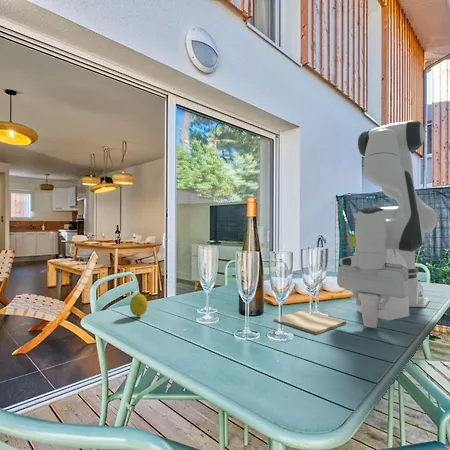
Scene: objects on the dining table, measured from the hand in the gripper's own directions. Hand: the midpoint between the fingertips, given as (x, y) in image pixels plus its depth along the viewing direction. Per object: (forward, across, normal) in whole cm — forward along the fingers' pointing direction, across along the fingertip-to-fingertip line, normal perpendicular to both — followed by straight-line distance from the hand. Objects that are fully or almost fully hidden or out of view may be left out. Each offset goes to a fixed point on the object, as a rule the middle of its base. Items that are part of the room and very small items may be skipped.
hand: (370, 307), depth 93 cm
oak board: (+6, +15, +9) cm, 19 cm away
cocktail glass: (+8, +41, -79) cm, 89 cm away
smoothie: (+6, 0, 0) cm, 6 cm away
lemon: (+6, +53, +50) cm, 73 cm away
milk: (+7, +5, -20) cm, 21 cm away
